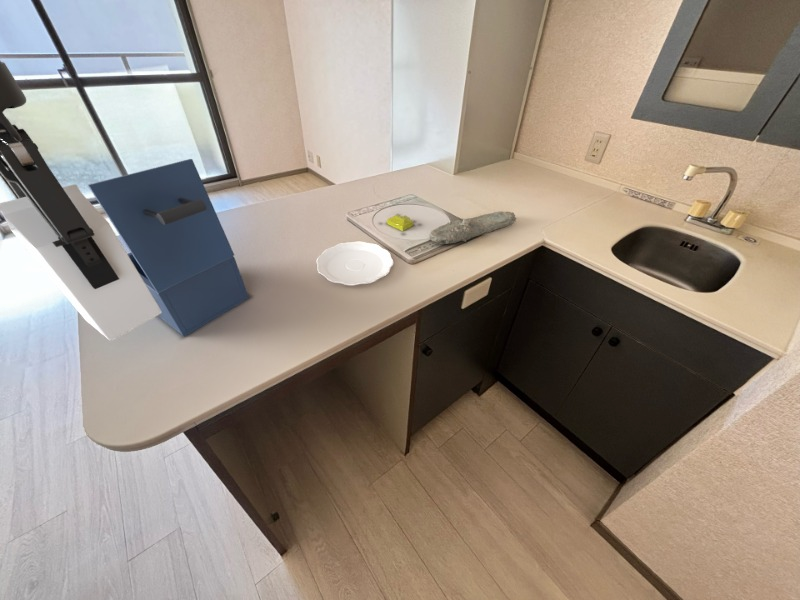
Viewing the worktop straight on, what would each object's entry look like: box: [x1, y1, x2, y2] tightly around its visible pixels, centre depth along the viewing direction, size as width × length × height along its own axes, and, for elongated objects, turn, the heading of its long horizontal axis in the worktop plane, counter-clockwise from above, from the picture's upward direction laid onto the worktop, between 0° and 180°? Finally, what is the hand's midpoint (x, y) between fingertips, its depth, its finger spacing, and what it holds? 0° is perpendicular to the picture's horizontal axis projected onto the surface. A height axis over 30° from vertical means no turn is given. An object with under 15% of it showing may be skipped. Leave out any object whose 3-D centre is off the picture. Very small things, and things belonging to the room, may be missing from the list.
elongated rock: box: [429, 210, 517, 245], centre depth 106 cm, size 35×5×10 cm
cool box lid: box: [87, 158, 235, 292], centre depth 58 cm, size 20×16×9 cm
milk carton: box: [0, 183, 162, 342], centre depth 42 cm, size 7×7×19 cm
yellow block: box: [386, 214, 414, 232], centre depth 109 cm, size 10×9×3 cm
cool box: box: [127, 252, 250, 338], centre depth 74 cm, size 19×16×12 cm
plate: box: [315, 240, 394, 286], centre depth 90 cm, size 21×21×2 cm
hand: (92, 271), depth 43 cm, fingers closed on milk carton, 7 cm apart
